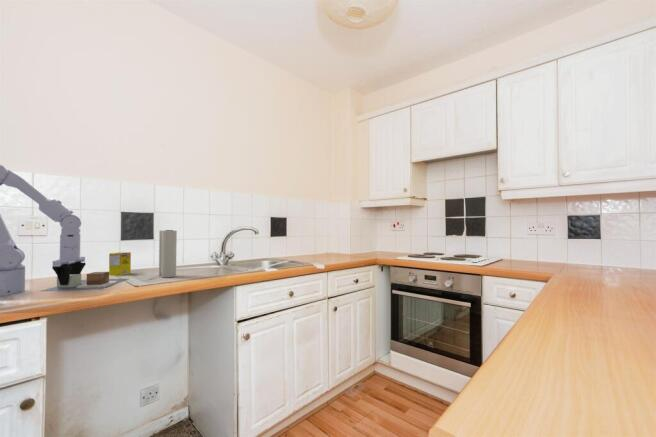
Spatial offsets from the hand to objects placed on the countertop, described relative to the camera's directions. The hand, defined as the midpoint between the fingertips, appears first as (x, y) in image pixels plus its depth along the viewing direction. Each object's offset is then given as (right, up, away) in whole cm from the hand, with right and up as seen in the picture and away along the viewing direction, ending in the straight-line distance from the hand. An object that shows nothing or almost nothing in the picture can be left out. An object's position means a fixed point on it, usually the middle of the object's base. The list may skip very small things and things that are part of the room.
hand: (69, 283), depth 111 cm
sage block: (0, -1, 0) cm, 1 cm away
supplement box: (0, -3, +26) cm, 27 cm away
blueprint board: (+5, -2, +3) cm, 6 cm away
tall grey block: (+23, -3, +26) cm, 35 cm away
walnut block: (+9, 0, +2) cm, 10 cm away
